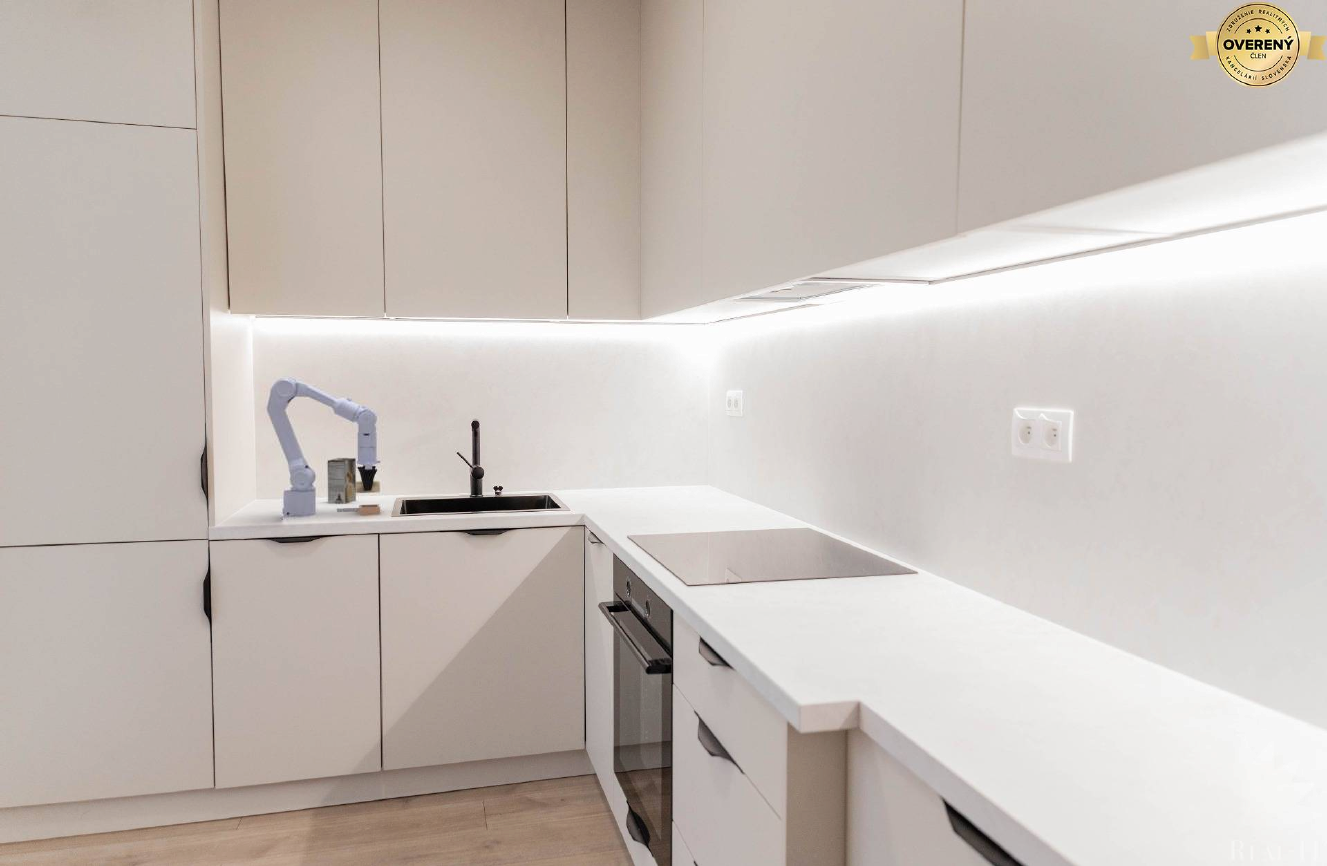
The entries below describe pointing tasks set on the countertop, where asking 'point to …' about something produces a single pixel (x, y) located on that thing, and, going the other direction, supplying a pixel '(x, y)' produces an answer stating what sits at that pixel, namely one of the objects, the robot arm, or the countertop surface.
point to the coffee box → (341, 480)
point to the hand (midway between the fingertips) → (367, 489)
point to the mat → (347, 509)
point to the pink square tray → (369, 509)
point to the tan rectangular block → (374, 489)
